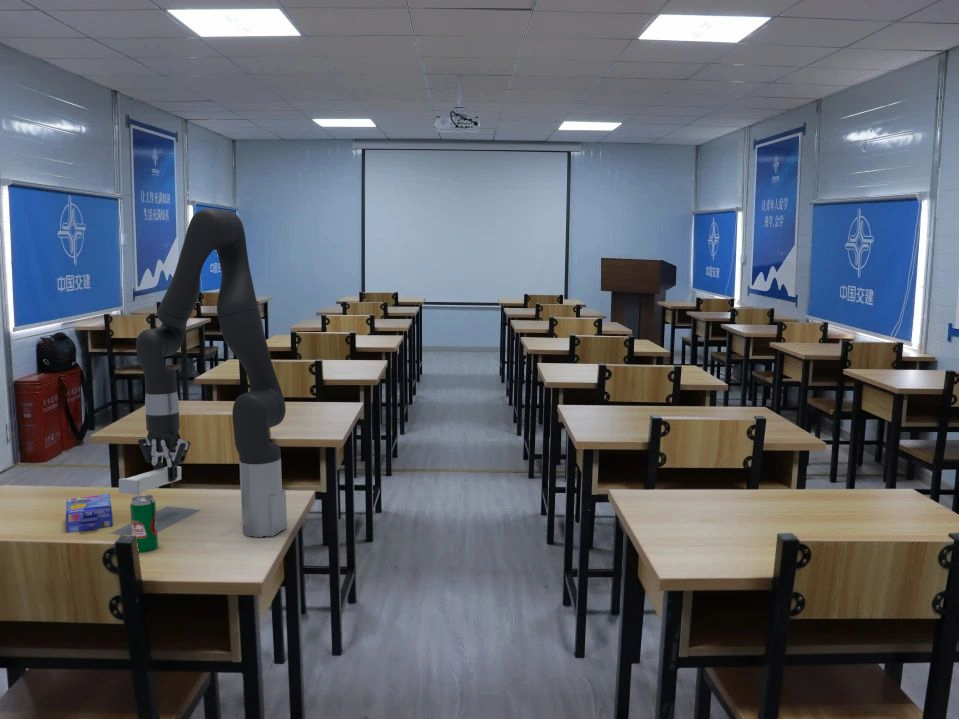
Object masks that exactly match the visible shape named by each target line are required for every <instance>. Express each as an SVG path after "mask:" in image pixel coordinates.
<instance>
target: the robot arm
mask: <svg viewBox="0 0 959 719" xmlns="http://www.w3.org/2000/svg"><path fill="white" fill-rule="evenodd" d="M243 224H244V223H243V221H242V220H241V218H240V217H239V215H238V214H236V213H235V212H234V211H232V210H228V209H219V208H201V209H200V210H198V211H196V212H195V213H194V214H193V216H192V217H191V219H190V222H189V223H188V226H187V230H186V233H185V237H184V240H183V244H182V247H181V251H180V253H179V257H178V261H177V264H176V268H175V270H174V274H173V276H172V278H171V280H170V283H169V286H168V288H167V289H166V291H165V294H164V296H163V298H162V300H161V302H160V304H159V306H158V307H157V311H156V317H157V318H158V320H159V321H160V322H161V325H160V326H159V327H155V328H148V329H145V330H142V331H140V333H139V334H138V336H137V338H136V341H135V350H136V355H137V358H138V360H139V363H140V364H139V365H140V367H141V370H142V373H143V375H144V376H143V377H144V387H145V388H144V389H145V400H144V406H145V407H144V409H145V410H144V411H145V425H146V426H145V428H146V429H145V430H146V431H147V434H146V437H143V438H140V439H138V440H137V444H138V446H139V448H140V451H141V453H142V455H143V457H144V460H145V462H146V463H150V464H151V465H152V466H153V471H154V470H157V469H161V468H164V467H165V466H164V463H163V461H164V460H163V459H166V464H167V466H166V467H167V470H168V481H169V482H171V483H174V482H173V481H175V480H176V478H177V476H178V474H177V466H178V465H180V464H184V462H186V457H187V455H188V452H189V449H190V448H191V447H190V446H191V442H190V440H187V441H185V440H183V439H181V435H180V433H179V430H180V427H181V425H180V424H181V422H180V419H181V418H180V402H179V400H180V399H179V396H178V385H177V384H178V383H177V382H178V381H177V373H176V370H175V369H174V368H173V367H171V366H166V364H165V360H164V358H165V357H170V356H173V355H175V354H176V353H177V352H178V351H179V350H180V349H181V347H182V346H183V343H184V339H185V334H186V330H187V324H188V321H189V319H190V317H191V314H192V313H193V311H194V309H195V307H196V305H197V302H198V300H199V297H200V293H201V292H200V291H201V274H202V270H203V267H204V264H205V262H206V260H207V259H208V257H209V256H210V255H211V254H212V253H213V251H216V255H217V257H218V261H219V266H220V272H221V278H220V279H221V283H220V287H219V292H218V296H217V303H216V313H217V319H218V322H219V326H220V330H221V331H220V332H221V335H222V337H223V340H224V342H225V344H226V345H227V347H228V348H229V350H230V352H232V354H233V355H234V356H235V357H236V359H237V361H239V362H240V364H241V365H242V367H243V369H244V370H245V373H246V376H247V379H248V383H249V386H250V391H249V392H245V393H243V394H240V395H239V396H237V397H236V399H235V400H234V402H233V406H232V412H231V413H232V417H231V418H232V425H233V437H234V439H233V440H234V445H235V449H236V451H237V453H238V456H239V457H238V458H239V480H240V481H239V484H240V503H241V505H240V506H241V525H242V533H244V534H243V535H244V536H247V535H248V536H247V537H250V536H254V537H253V538H264V537H263V536H266V537H275V536H276V534H277V533H278V534H280V533H281V532H283V531H284V530H286V529H287V528H288V521H287V520H288V519H287V517H288V516H287V492H286V488H283V485H282V484H283V483H282V481H283V480H282V458H281V457H282V455H281V454H282V453H281V451H282V450H281V447H280V446H279V444H277V443H273V442H270V438H269V429H270V428H271V429H272V428H273V427H276V426H278V425H280V424H281V423H282V422H283V421H284V419H285V416H286V410H287V409H286V402H285V398H284V395H283V392H282V389H281V386H280V385H281V384H279V380H278V377H277V374H276V372H275V369H274V365H273V362H272V358H271V354H270V350H269V347H268V343H267V339H266V334H265V330H264V326H263V325H264V324H263V320H262V316H261V311H260V308H259V304H258V301H257V297H256V293H255V288H254V283H253V278H252V273H251V268H250V264H249V255H248V249H247V247H248V246H247V240H246V232H245V228H244V225H243ZM175 482H176V481H175ZM286 527H287V528H286ZM285 528H286V529H285ZM282 530H283V531H282ZM280 531H281V532H280ZM279 532H280V533H279ZM278 534H277V535H278ZM274 535H275V536H274Z"/></svg>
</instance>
